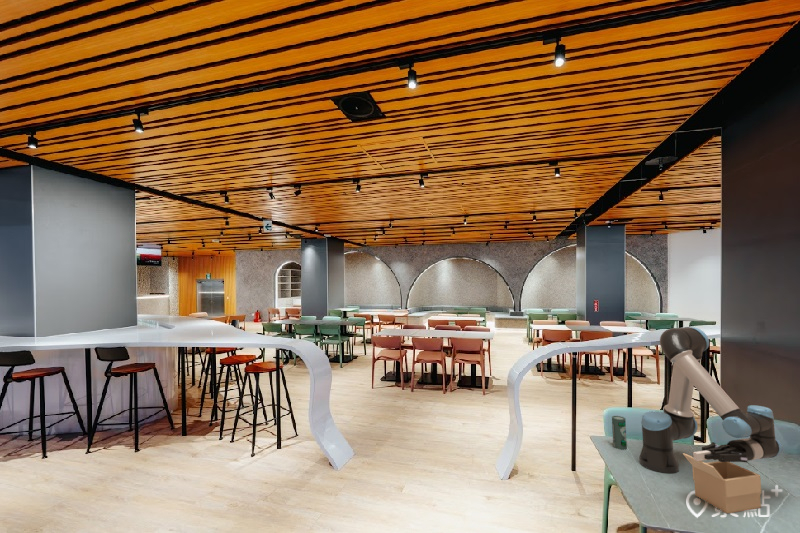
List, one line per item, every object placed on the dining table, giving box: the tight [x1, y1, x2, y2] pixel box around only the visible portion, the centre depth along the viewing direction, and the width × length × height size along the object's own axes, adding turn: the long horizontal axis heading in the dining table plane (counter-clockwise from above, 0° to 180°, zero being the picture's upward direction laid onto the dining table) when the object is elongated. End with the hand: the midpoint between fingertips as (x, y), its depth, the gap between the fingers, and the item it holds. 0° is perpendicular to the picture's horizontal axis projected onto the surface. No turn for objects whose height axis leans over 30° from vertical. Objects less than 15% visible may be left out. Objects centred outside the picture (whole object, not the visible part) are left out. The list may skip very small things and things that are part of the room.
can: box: [611, 415, 628, 451], centre depth 198 cm, size 6×6×15 cm
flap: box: [682, 452, 724, 481], centre depth 145 cm, size 7×12×1 cm
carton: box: [692, 460, 762, 514], centre depth 147 cm, size 16×13×12 cm
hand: (695, 456), depth 144 cm, fingers closed
